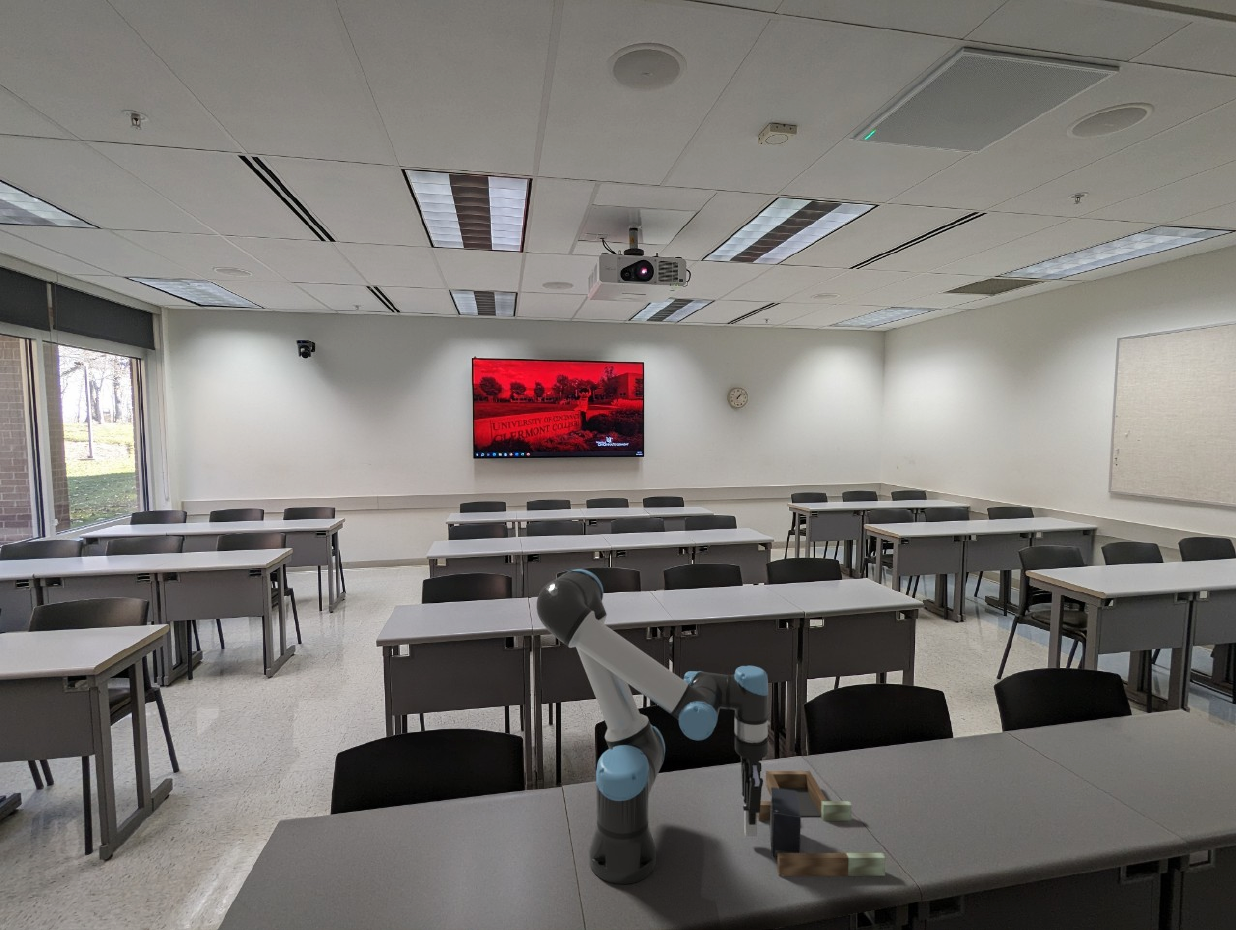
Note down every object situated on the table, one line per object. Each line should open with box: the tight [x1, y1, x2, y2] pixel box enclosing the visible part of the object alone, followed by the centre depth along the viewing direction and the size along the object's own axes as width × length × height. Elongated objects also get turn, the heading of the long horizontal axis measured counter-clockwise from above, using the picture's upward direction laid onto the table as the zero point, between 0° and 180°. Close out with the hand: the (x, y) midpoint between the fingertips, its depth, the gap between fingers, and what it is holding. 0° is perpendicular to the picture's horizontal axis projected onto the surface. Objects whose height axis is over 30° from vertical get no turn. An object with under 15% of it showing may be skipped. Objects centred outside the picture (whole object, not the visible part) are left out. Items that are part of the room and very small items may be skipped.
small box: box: [769, 787, 802, 859], centre depth 139 cm, size 11×6×10 cm, turn 168°
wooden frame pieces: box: [757, 770, 886, 877], centre depth 146 cm, size 23×34×4 cm
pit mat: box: [779, 787, 822, 818], centre depth 155 cm, size 9×12×1 cm
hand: (750, 834), depth 139 cm, fingers closed
